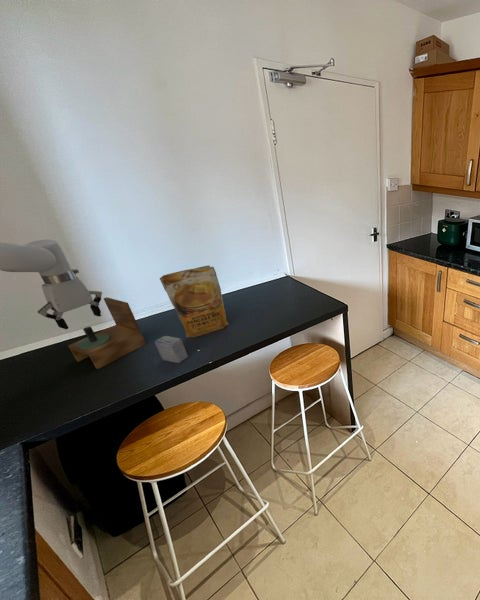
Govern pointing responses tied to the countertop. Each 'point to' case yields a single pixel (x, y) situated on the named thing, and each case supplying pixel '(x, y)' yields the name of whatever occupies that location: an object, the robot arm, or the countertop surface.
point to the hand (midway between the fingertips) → (82, 321)
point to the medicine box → (171, 349)
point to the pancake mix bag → (196, 300)
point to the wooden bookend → (113, 337)
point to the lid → (92, 339)
